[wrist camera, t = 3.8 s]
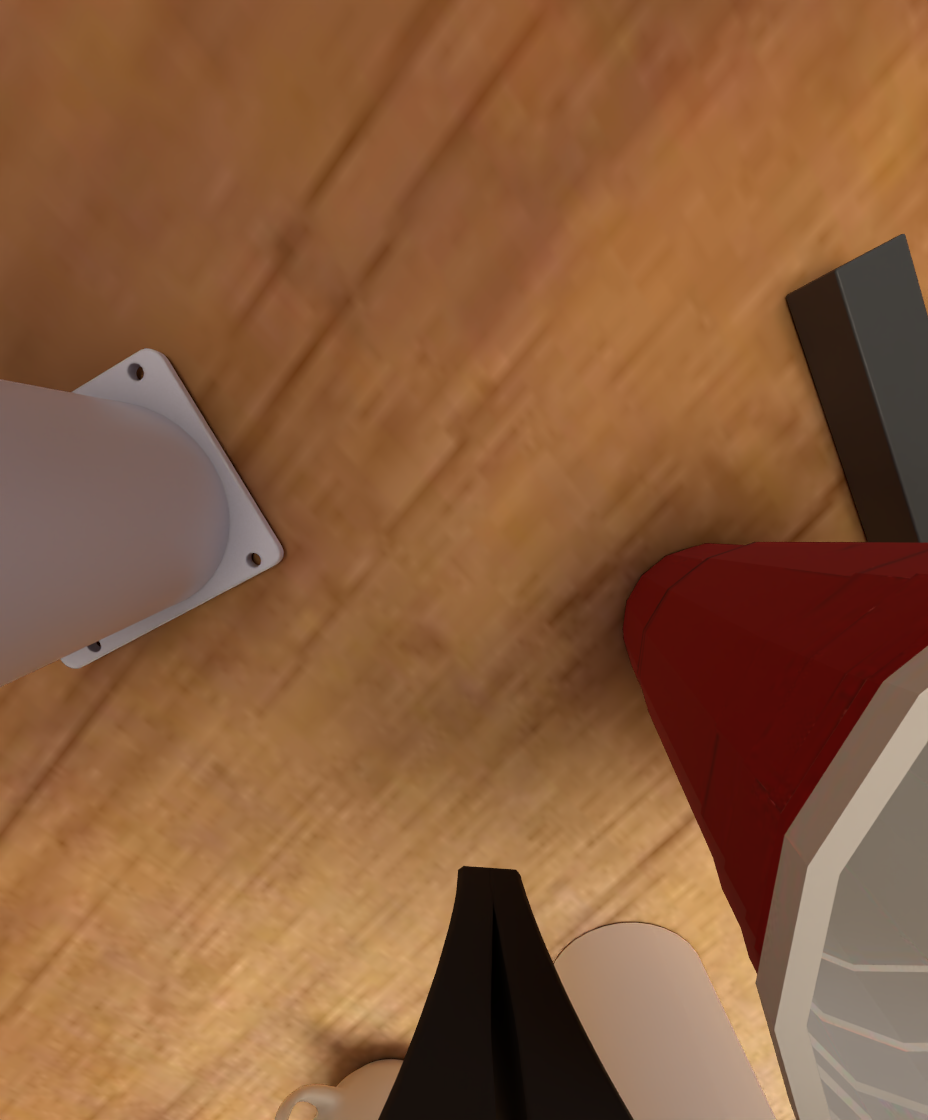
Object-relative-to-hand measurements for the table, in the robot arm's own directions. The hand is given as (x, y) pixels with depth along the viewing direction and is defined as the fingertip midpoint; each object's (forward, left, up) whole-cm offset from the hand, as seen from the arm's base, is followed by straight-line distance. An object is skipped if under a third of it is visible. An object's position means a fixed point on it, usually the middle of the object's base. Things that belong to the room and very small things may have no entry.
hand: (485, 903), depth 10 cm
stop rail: (+17, 0, -8) cm, 18 cm away
